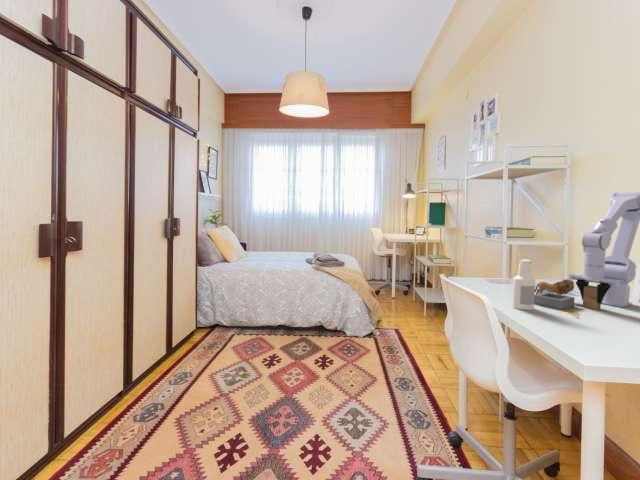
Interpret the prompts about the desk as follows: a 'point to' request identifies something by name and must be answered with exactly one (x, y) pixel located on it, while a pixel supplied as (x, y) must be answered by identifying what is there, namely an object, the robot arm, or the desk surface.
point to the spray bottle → (524, 287)
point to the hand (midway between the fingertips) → (591, 301)
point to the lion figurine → (556, 287)
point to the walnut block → (591, 297)
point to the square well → (554, 300)
